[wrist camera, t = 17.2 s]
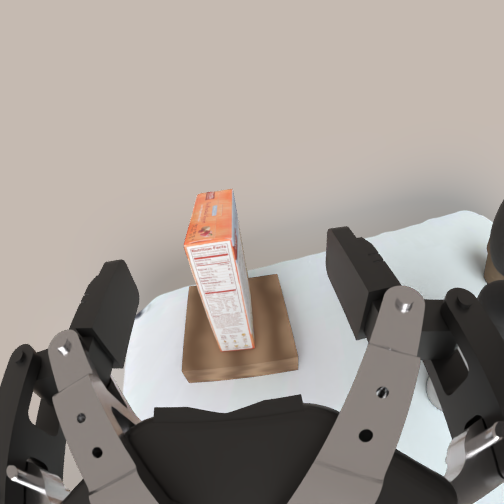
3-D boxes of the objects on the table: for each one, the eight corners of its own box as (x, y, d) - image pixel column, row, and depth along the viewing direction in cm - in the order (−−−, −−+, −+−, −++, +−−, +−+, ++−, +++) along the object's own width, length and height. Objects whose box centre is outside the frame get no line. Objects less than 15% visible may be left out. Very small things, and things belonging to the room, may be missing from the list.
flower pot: (512, 300, 42) (529, 267, 36) (478, 290, 47) (493, 255, 41) (506, 271, 49) (519, 240, 43) (474, 262, 55) (485, 229, 49)
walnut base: (278, 288, 58) (277, 273, 56) (297, 369, 42) (298, 356, 39) (194, 300, 58) (189, 286, 56) (189, 382, 42) (181, 371, 39)
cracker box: (219, 293, 53) (195, 192, 41) (251, 289, 53) (235, 186, 41) (217, 353, 42) (180, 243, 29) (255, 350, 41) (235, 236, 29)
